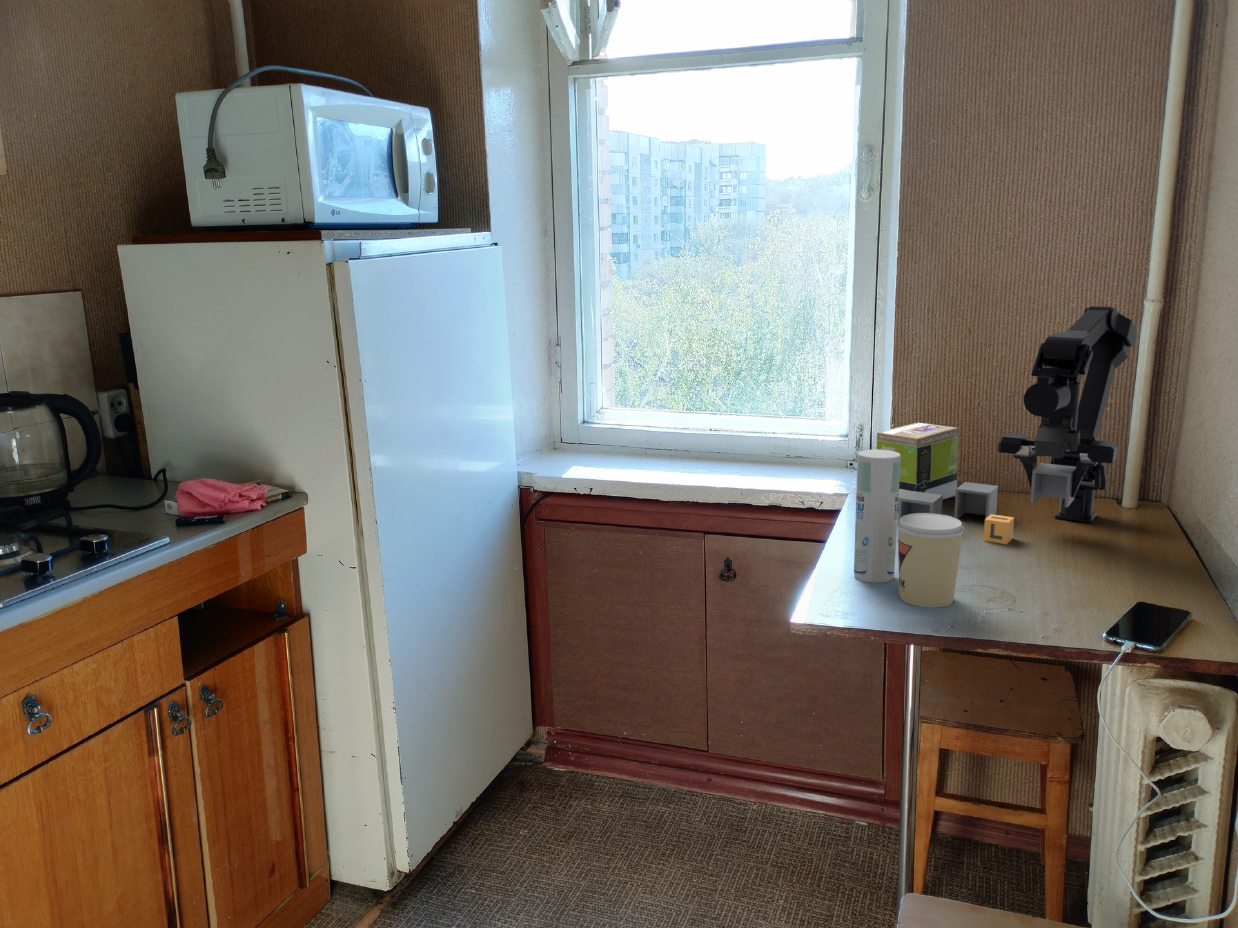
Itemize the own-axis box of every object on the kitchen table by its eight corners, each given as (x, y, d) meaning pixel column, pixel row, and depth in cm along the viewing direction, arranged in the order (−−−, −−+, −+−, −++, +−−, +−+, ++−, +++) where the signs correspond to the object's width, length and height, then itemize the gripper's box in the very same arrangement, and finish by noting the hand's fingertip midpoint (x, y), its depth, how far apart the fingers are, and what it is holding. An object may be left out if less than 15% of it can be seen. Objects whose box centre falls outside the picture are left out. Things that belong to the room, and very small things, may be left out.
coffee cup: (897, 584, 150) (900, 510, 148) (960, 591, 147) (965, 515, 144) (890, 605, 142) (894, 526, 139) (957, 613, 139) (963, 532, 136)
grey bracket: (1037, 494, 177) (1040, 463, 176) (1074, 499, 174) (1077, 466, 173) (1030, 502, 172) (1032, 469, 171) (1067, 507, 169) (1070, 474, 168)
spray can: (898, 583, 151) (904, 458, 146) (855, 582, 151) (860, 458, 147) (890, 569, 157) (896, 449, 153) (850, 569, 158) (854, 449, 153)
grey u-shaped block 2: (908, 521, 184) (909, 490, 182) (941, 526, 180) (942, 494, 179) (897, 529, 179) (899, 498, 177) (931, 534, 175) (932, 502, 174)
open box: (963, 511, 190) (964, 481, 188) (995, 516, 186) (998, 485, 185) (954, 519, 185) (956, 488, 183) (987, 523, 181) (990, 493, 180)
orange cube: (989, 535, 175) (990, 513, 174) (1012, 538, 172) (1014, 517, 171) (983, 541, 171) (984, 519, 170) (1006, 544, 169) (1008, 522, 168)
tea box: (915, 488, 208) (919, 420, 205) (957, 497, 200) (962, 427, 197) (872, 500, 199) (876, 430, 195) (915, 510, 191) (919, 437, 188)
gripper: (993, 411, 168) (987, 497, 172) (1112, 420, 158) (1103, 512, 161) (1008, 401, 177) (1002, 484, 180) (1122, 410, 167) (1113, 497, 170)
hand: (1052, 494), depth 173 cm, fingers closed on grey bracket, 6 cm apart
